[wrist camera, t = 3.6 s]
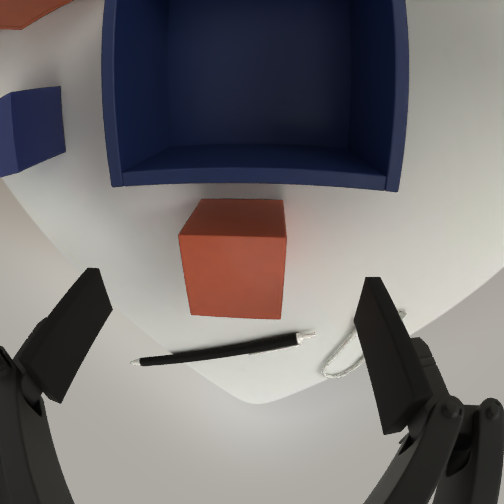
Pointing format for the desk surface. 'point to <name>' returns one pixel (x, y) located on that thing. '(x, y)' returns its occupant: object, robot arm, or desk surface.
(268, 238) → the terracotta block
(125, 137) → the navy bin
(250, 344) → the pen
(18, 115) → the navy block
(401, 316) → the electronic cable
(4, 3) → the terracotta bin
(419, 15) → the desk surface
